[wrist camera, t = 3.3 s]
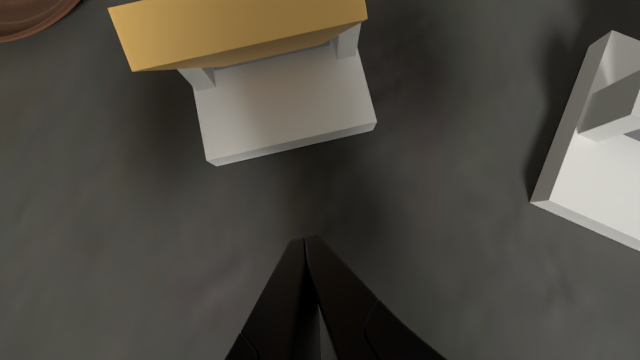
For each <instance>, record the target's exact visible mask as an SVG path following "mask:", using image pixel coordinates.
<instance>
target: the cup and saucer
mask: <svg viewBox="0 0 640 360" xmlns="http://www.w3.org/2000/svg"><path fill="white" fill-rule="evenodd" d="M79 2H80V0H0V43H2V42H8V41H13V40H17V39H21V38H24V37H27V36H30V35H32V34H35V33H37V32H40V31H42V30H44V29H46V28H48V27H49V26H51V25H53V24H55V23H56V22H57V21H59V20H60V19H62V18H63V17H64V16H65V15H67V14H68V13H69V12H70V11H71V10H72V9H73V8H74V7H75V6H76V5H77V4H78V3H79Z"/></svg>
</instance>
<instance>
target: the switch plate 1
mask: <svg viewBox="0 0 640 360" xmlns="http://www.w3.org/2000/svg"><path fill="white" fill-rule="evenodd" d="M360 27H361V23H359V24H358V25H356V26H354V27H352V28H350V29H348V30H347V31H345V32H343V33H341V34H339V35H337V36H336V37H334V38H332V39H330V45H328V46H323V47H319V48H315V49H310V50H306V51H301V52H297V53H292V54H288V55H283V56H279V57H275V58H270V59H266V60H261V61H257V62H252V63H248V64H243V65H239V66H235V67H230V68H226V69H221V70H217V71H215V70H214V68H213V67H208V68H190V69H177V70H178V71H179V72H180V73H181V74H182V75H183V76H184V77H185V79H186V80H187V81H188V82H189V83H190V84H191V85H192V86H193V91H194V97H195V102H196V107H197V113H198V118H199V123H200V129H201V134H202V140H203V145H204V150H205V156H206V161H208V162H210V163H211V164H213V165H215V166H220V165H225V164H229V163H234V162H238V161H242V160H247V159H251V158H255V157H260V156H264V155H268V154H273V153H277V152H281V151H286V150H290V149H294V148H299V147H303V146H307V145H312V144H316V143H321V142H325V141H329V140H334V139H338V138H342V137H347V136H351V135H355V134H360V133H364V132H368V131H373V129H374V127H375V125H376V123H377V120H376V116H375V112H374V109H373V105H372V101H371V97H370V94H369V90H368V86H367V82H366V79H365V75H364V71H363V67H362V64H361V60H360V56H359V52H358V49H357V44H358V38H359V33H360Z"/></svg>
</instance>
